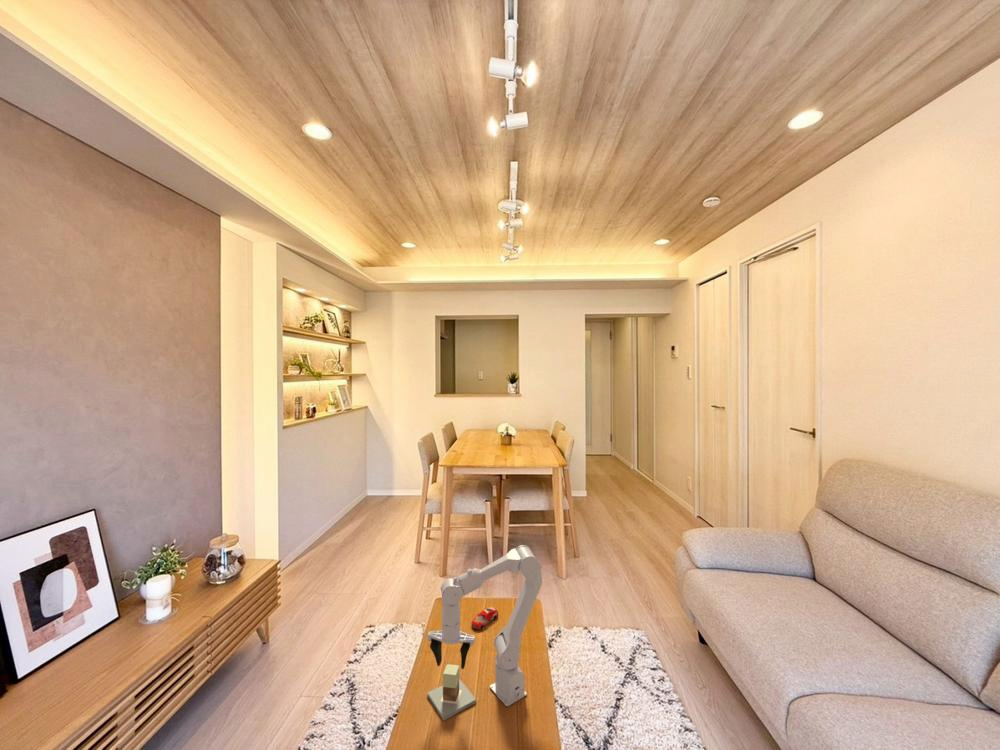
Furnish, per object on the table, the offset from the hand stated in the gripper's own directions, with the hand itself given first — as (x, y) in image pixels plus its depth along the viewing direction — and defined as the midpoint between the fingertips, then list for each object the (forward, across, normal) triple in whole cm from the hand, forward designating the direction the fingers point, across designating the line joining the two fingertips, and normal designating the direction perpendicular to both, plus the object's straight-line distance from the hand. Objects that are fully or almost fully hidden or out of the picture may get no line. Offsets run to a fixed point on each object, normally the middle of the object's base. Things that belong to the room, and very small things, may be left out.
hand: (451, 665), depth 122 cm
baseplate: (+10, 0, 0) cm, 10 cm away
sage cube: (+5, 0, 0) cm, 5 cm away
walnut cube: (+9, 0, 0) cm, 9 cm away
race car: (+11, -2, -40) cm, 42 cm away
